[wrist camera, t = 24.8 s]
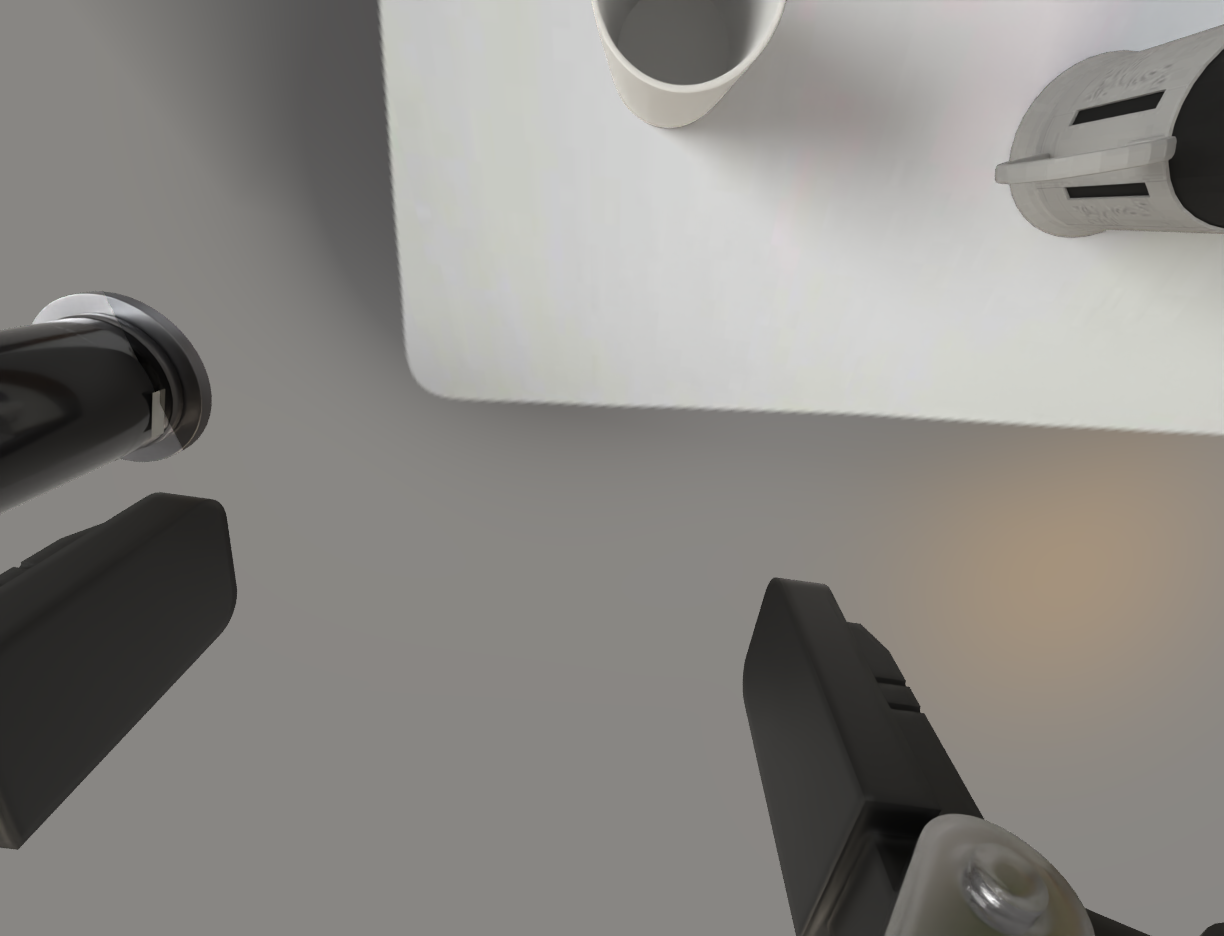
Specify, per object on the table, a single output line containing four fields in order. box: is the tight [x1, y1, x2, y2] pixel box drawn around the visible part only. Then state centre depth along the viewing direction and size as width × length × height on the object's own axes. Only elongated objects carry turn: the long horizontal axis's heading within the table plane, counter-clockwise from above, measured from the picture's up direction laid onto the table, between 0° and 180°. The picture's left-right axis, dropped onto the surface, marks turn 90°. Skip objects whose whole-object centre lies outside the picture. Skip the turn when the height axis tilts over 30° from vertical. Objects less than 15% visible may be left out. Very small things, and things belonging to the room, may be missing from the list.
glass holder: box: [995, 25, 1224, 237], centre depth 25 cm, size 9×14×15 cm, turn 100°
